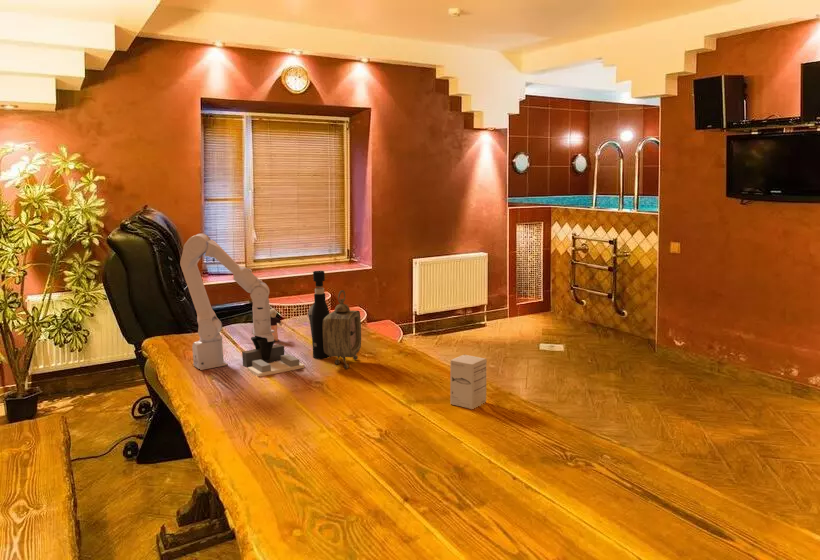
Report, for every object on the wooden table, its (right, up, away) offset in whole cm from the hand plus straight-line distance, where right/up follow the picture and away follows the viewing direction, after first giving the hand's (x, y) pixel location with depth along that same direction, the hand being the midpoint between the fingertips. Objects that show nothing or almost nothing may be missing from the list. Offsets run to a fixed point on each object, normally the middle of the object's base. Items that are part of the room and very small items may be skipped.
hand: (263, 358), depth 219 cm
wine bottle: (+19, 0, +6) cm, 20 cm away
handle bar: (0, -2, 0) cm, 2 cm away
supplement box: (+66, -7, -44) cm, 79 cm away
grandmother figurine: (-3, +3, +30) cm, 30 cm away
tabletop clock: (+27, -2, -4) cm, 28 cm away
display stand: (+6, -3, -8) cm, 10 cm away
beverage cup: (+15, +2, +23) cm, 28 cm away
